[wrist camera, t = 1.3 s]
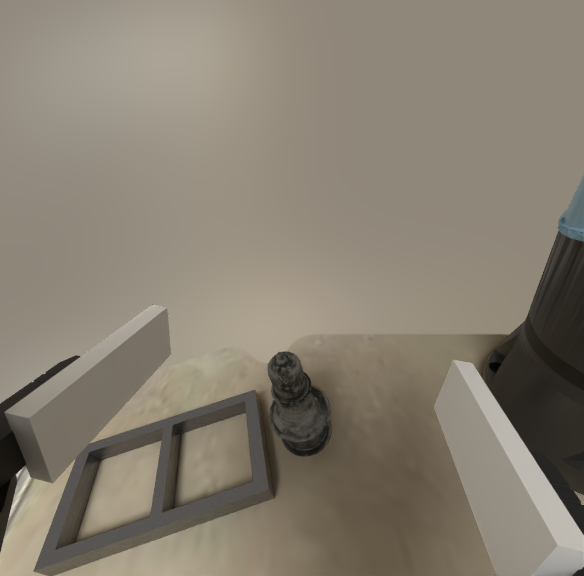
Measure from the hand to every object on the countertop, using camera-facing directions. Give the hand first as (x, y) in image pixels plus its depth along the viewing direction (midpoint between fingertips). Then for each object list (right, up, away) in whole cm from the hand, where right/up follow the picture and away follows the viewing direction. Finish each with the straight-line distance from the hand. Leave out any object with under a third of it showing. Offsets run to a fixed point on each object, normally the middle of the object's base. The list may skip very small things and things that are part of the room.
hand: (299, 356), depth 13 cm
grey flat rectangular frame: (-12, -15, +15) cm, 25 cm away
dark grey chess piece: (+1, -11, +16) cm, 20 cm away
